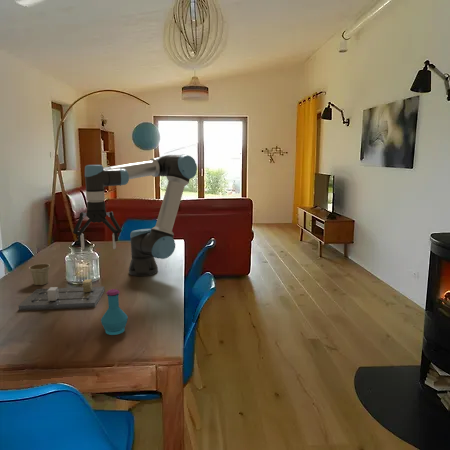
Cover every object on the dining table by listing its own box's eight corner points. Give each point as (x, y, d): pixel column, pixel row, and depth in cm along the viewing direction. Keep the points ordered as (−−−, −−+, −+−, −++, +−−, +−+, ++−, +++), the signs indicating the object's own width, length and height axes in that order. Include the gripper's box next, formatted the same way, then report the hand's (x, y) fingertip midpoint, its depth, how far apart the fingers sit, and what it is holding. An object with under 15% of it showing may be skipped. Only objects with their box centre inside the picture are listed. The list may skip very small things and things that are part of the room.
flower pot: (43, 287, 188) (41, 269, 186) (26, 286, 190) (24, 268, 188) (55, 281, 197) (54, 264, 195) (38, 279, 199) (37, 263, 197)
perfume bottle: (104, 325, 146) (102, 286, 143) (130, 324, 147) (128, 286, 144) (99, 337, 137) (96, 295, 134) (126, 335, 138) (123, 295, 135)
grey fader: (58, 297, 169) (57, 287, 168) (55, 300, 165) (54, 290, 164) (51, 297, 168) (50, 287, 168) (48, 300, 165) (47, 290, 164)
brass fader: (92, 288, 179) (91, 279, 178) (90, 291, 175) (89, 282, 174) (85, 289, 178) (85, 279, 178) (83, 292, 174) (82, 282, 174)
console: (104, 290, 183) (104, 285, 183) (95, 307, 163) (94, 301, 163) (37, 293, 180) (36, 287, 180) (19, 310, 160) (18, 304, 160)
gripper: (126, 199, 176) (128, 246, 179) (68, 200, 173) (72, 247, 177) (124, 201, 168) (126, 250, 172) (63, 202, 166) (67, 251, 170)
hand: (98, 248), depth 175 cm, fingers open, 13 cm apart
